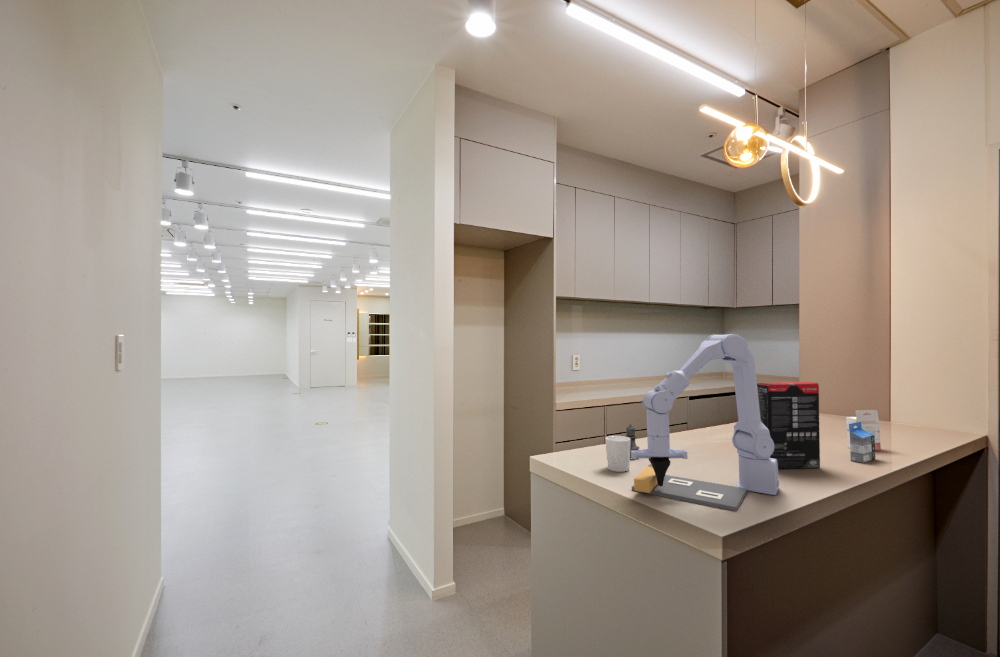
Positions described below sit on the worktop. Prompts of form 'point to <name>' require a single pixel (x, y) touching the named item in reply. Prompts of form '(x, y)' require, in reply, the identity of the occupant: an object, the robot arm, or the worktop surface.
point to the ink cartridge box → (866, 425)
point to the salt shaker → (631, 438)
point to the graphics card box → (792, 422)
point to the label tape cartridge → (861, 444)
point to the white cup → (618, 453)
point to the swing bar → (645, 480)
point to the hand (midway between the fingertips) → (660, 485)
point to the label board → (700, 492)
